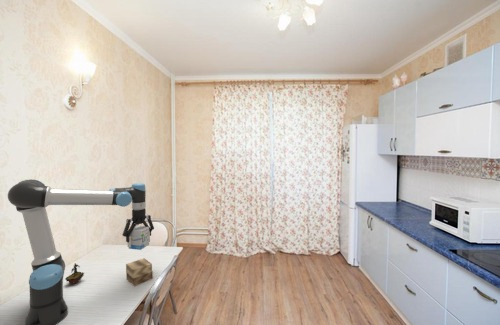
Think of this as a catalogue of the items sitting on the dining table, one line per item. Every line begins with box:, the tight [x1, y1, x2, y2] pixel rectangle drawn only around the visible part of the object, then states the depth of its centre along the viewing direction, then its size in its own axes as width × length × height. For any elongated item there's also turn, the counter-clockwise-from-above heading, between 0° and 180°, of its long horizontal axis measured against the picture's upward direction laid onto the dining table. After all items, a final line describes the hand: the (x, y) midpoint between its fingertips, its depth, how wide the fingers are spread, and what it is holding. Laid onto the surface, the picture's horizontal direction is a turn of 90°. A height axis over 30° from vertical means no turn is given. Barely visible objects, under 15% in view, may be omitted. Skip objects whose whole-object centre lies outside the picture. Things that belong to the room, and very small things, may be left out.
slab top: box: [125, 257, 153, 279], centre depth 144 cm, size 11×11×5 cm
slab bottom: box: [125, 270, 154, 287], centre depth 145 cm, size 11×11×5 cm
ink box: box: [128, 225, 150, 251], centre depth 144 cm, size 8×8×12 cm
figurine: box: [65, 263, 85, 285], centre depth 139 cm, size 10×8×12 cm
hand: (139, 244), depth 144 cm, fingers closed on ink box, 11 cm apart
